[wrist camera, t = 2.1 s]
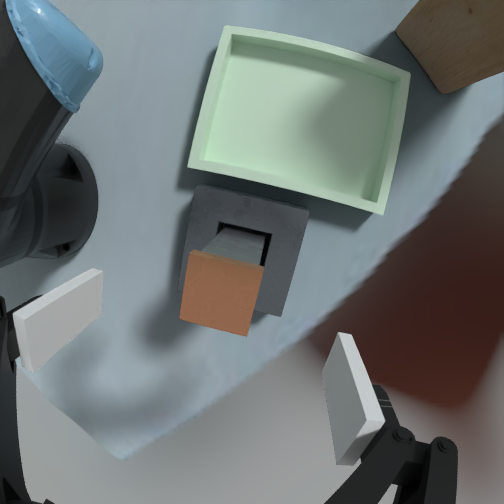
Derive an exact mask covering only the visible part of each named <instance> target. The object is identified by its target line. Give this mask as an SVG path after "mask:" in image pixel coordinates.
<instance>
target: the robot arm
mask: <svg viewBox="0 0 504 504" xmlns="http://www.w3.org/2000/svg"><path fill="white" fill-rule="evenodd" d="M102 68H103V56H102V53H101V51H100V50H99V48H98V47H97V46H96V45H95V44H94V43H93V42H92V41H91V40H90V39H89V38H88V37H87V36H86V35H85V34H84V33H83V32H82V31H81V30H80V29H79V28H78V27H77V26H76V25H75V24H74V23H73V22H72V21H71V20H70V19H69V18H67V17H66V16H65V15H64V14H63V13H62V12H61V11H60V10H59V9H57V8H56V7H55V6H54V5H53V4H52V3H51V2H49V1H48V0H0V268H1V267H4V266H6V265H8V264H11V263H13V262H15V261H18V260H20V259H23V258H25V257H29V258H42V259H58V258H62V257H64V256H67V255H69V254H71V253H73V252H75V251H77V250H78V249H80V248H81V247H82V246H83V245H84V244H85V242H86V241H87V239H88V238H89V236H90V234H91V232H92V230H93V228H94V225H95V221H96V217H97V211H98V190H97V184H96V180H95V176H94V173H93V170H92V168H91V166H90V164H89V163H88V161H87V159H86V158H85V157H84V156H83V154H82V153H81V152H79V151H78V150H77V149H75V148H74V147H72V146H69V145H66V144H56V143H55V141H56V139H57V138H58V136H59V135H60V133H61V131H62V130H63V128H64V127H65V125H66V124H67V122H68V121H69V119H70V118H71V116H72V115H73V113H77V111H78V110H79V109H80V103H81V102H82V100H83V99H84V97H85V96H86V94H87V93H88V91H89V90H90V88H91V87H92V85H93V84H94V83H95V81H96V80H97V78H98V77H99V75H100V73H101V71H102ZM102 284H103V271H100V270H97V269H94V268H91V269H90V270H88V271H86V272H84V273H82V274H80V275H78V276H77V277H75V278H73V279H71V280H69V281H68V282H66V283H64V284H62V285H60V286H59V287H57V288H55V289H53V290H52V291H50V292H48V293H46V294H45V295H40V296H36V297H33V298H31V299H30V300H28V301H27V302H24V303H23V304H22V305H19V306H18V307H16V308H14V309H12V310H11V311H9V312H7V313H6V306H5V299H4V298H3V297H2V296H0V504H42V503H38V502H34V501H31V499H30V497H29V494H28V492H27V489H26V486H25V481H24V477H23V470H22V463H21V456H20V448H19V439H18V427H17V409H16V361H15V359H16V358H18V357H19V356H20V358H21V363H22V366H23V367H25V368H26V369H28V370H29V371H31V372H33V373H34V372H36V371H37V370H38V369H39V368H40V367H41V366H42V365H43V364H44V363H46V362H47V361H48V360H49V359H50V358H51V357H52V356H53V355H55V354H56V353H57V352H58V351H59V350H60V349H62V348H63V347H64V346H65V345H66V344H67V343H68V342H70V341H71V340H72V339H73V338H74V337H75V336H77V335H78V334H79V333H80V332H81V331H82V330H84V329H85V328H86V327H87V326H88V325H90V324H91V323H92V322H93V321H94V320H96V319H97V318H98V317H99V316H100V315H102ZM322 379H323V385H324V390H325V396H326V402H327V407H328V413H329V419H330V425H331V431H332V437H333V445H334V451H335V458H336V465H354V464H355V463H356V462H357V461H358V459H359V458H361V464H360V465H359V467H358V468H357V469H356V470H355V471H354V472H353V473H352V475H351V476H350V477H349V478H348V479H347V480H346V481H345V482H344V483H343V485H342V486H341V487H340V488H339V489H338V490H337V491H336V492H335V493H334V494H333V495H332V496H331V497H330V498H329V499H328V500H327V501H326V502H325V503H324V504H378V502H379V501H380V500H381V498H382V497H383V495H384V494H385V492H386V491H387V489H388V488H389V486H390V485H391V484H396V485H398V487H397V491H396V494H395V498H394V502H393V504H455V503H456V491H457V490H456V489H457V468H458V450H457V446H456V445H455V443H454V442H453V441H451V440H450V439H447V438H446V437H436V438H435V439H434V440H433V441H432V442H431V443H430V444H427V443H423V442H419V441H416V440H415V436H414V435H413V433H412V432H411V431H409V430H408V429H407V428H404V427H402V426H400V424H399V422H398V419H397V417H396V414H395V412H394V409H393V408H392V405H391V403H390V401H389V398H388V395H387V393H386V392H385V391H384V390H383V388H382V387H381V386H380V385H372V384H371V382H370V380H369V377H368V374H367V372H366V369H365V367H364V364H363V362H362V359H361V357H360V354H359V352H358V349H357V347H356V345H355V342H354V340H353V338H352V335H350V334H344V333H340V332H338V334H337V337H336V339H335V342H334V345H333V347H332V349H331V352H330V354H329V357H328V359H327V361H326V364H325V366H324V369H323V371H322ZM43 504H54V503H53V502H51V501H49V500H48V499H46V500H45V502H44V503H43Z"/></svg>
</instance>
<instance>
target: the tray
mask: <svg viewBox="0 0 504 504" xmlns="http://www.w3.org/2000/svg"><path fill="white" fill-rule="evenodd" d="M410 76H411V73H409V72H407V71H405V70H402V69H400V68H397V67H395V66H392V65H390V64H387V63H385V62H382V61H379V60H376V59H374V58H371V57H368V56H365V55H362V54H359V53H356V52H353V51H350V50H346V49H343V48H340V47H336V46H333V45H329V44H325V43H321V42H317V41H313V40H309V39H305V38H301V37H296V36H291V35H286V34H281V33H276V32H270V31H264V30H257V29H250V28H243V27H234V26H224V29H223V32H222V36H221V39H220V42H219V45H218V48H217V52H216V55H215V59H214V62H213V65H212V69H211V72H210V76H209V80H208V83H207V87H206V91H205V94H204V98H203V102H202V106H201V110H200V114H199V118H198V122H197V126H196V130H195V135H194V139H193V143H192V148H191V152H190V157H189V161H188V166H187V167H189V168H194V169H199V170H204V171H209V172H214V173H219V174H224V175H229V176H234V177H238V178H243V179H247V180H252V181H256V182H260V183H265V184H269V185H273V186H277V187H281V188H286V189H290V190H294V191H298V192H302V193H305V194H309V195H313V196H317V197H321V198H324V199H328V200H332V201H335V202H339V203H343V204H346V205H350V206H353V207H357V208H360V209H363V210H367V211H370V212H373V213H377V214H380V215H383V214H384V210H385V206H386V202H387V199H388V195H389V190H390V186H391V182H392V178H393V174H394V169H395V165H396V160H397V155H398V150H399V145H400V140H401V135H402V129H403V124H404V118H405V112H406V105H407V99H408V91H409V84H410Z"/></svg>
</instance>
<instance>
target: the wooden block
mask: <svg viewBox="0 0 504 504" xmlns="http://www.w3.org/2000/svg"><path fill="white" fill-rule="evenodd" d="M396 33H397V35H398V36H399V38H400V39H401V40H402V41H403V43H404V44H405V45H406V46H407V48H408V49H409V50H410V51H411V53H412V54H413V55H414V57H415V58H416V59H417V61H418V62H419V63H420V65H421V66H422V68H423V69H424V70H425V72H426V73H427V75H428V76H429V78H430V79H431V81H432V82H433V83H434V85H435V87H436V88H437V90H438V91H439V92H441V93H443V94H449V93H451V92H453V91H456V90H458V89H461V88H463V87H465V86H468V85H470V84H473V83H475V82H478V81H480V80H483V79H485V78H488V77H490V76H493V75H496V74H498V73H501V72H504V0H419V2H418V3H417V4H416V5H415V6H414V7H413V8H412V10H411V11H410V12H409V13H408V14H407V16H406V17H405V18H404V19H403V20H402V21H401V23H400V24H399V25H398V26H397V28H396Z"/></svg>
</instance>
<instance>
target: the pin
mask: <svg viewBox="0 0 504 504" xmlns="http://www.w3.org/2000/svg"><path fill="white" fill-rule="evenodd" d="M265 235H266V232H263V231H258V230H254V229H250V228H246V227H242V226H237V225H233V224H228V225H227V226H226V227H225V228H224V229H223V230H222V231H221V232H220V233H219V234H218V235H217V236H216V237H215V238H214V239H213V240H212V241H211V242H210V243H209V244H208V245H207V246H206V247H205V248H204V249H203V250H202V251H198V250H192V251H191V252H190V253H189V258H188V264H187V270H186V276H185V282H184V289H183V295H182V302H181V309H180V316H179V319H181V320H184V321H188V322H192V323H195V324H199V325H203V326H206V327H210V328H214V329H218V330H222V331H226V332H230V333H234V334H238V335H242V336H246V337H247V334H248V330H249V326H250V323H251V319H252V315H253V311H254V307H255V303H256V299H257V295H258V291H259V287H260V284H261V280H262V276H263V272H264V266H259V265H260V260H261V255H262V250H263V245H264V240H265Z"/></svg>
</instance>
